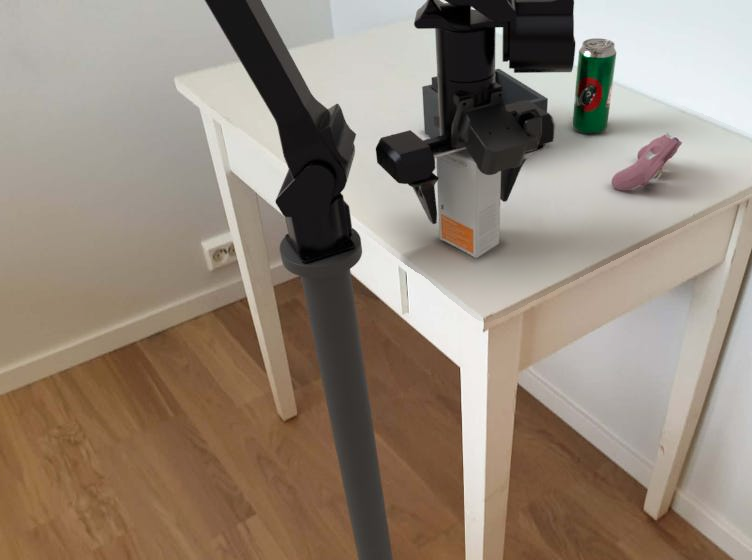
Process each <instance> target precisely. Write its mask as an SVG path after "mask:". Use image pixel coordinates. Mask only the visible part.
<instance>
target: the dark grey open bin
mask: <svg viewBox="0 0 752 560" xmlns="http://www.w3.org/2000/svg"><path fill="white" fill-rule="evenodd" d="M495 82H496V83H497V84H499V85H501V86H502V92H503V101H504V104H505V105H508V104H512V103H516V102H520V101H524V100H528V101H530V102H531V103H533V104H535V105H536V106H538V107H539V108H541V109H543V110H544V111H546V112H547V113H548V103H549V100H548V97H546V96H545V95H543V94H541V93H539V92H538V91H536V90H534V89H533V88H532V87H530V86H528V85H526V84H525V83H523V82H522V81H520V80H519V79H517V78H515V77H513V76H512V75H510V74H509V73H507V72H505V71H504V70H502V69H500V68H495ZM421 89H422V92H421V93H422V107H423V108H422V110H423V129H424V134H426V135H427V136H428V137H430V138H434V137H437V136H440V131H439V130H438V129H437V128H436V127H434V117H435V116H439V104H438V91H436V90H435V89H433V88H432V84H428V85H424V86H423V85H422V87H421ZM543 145H544V147H545V146H546V144H543Z"/></svg>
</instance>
